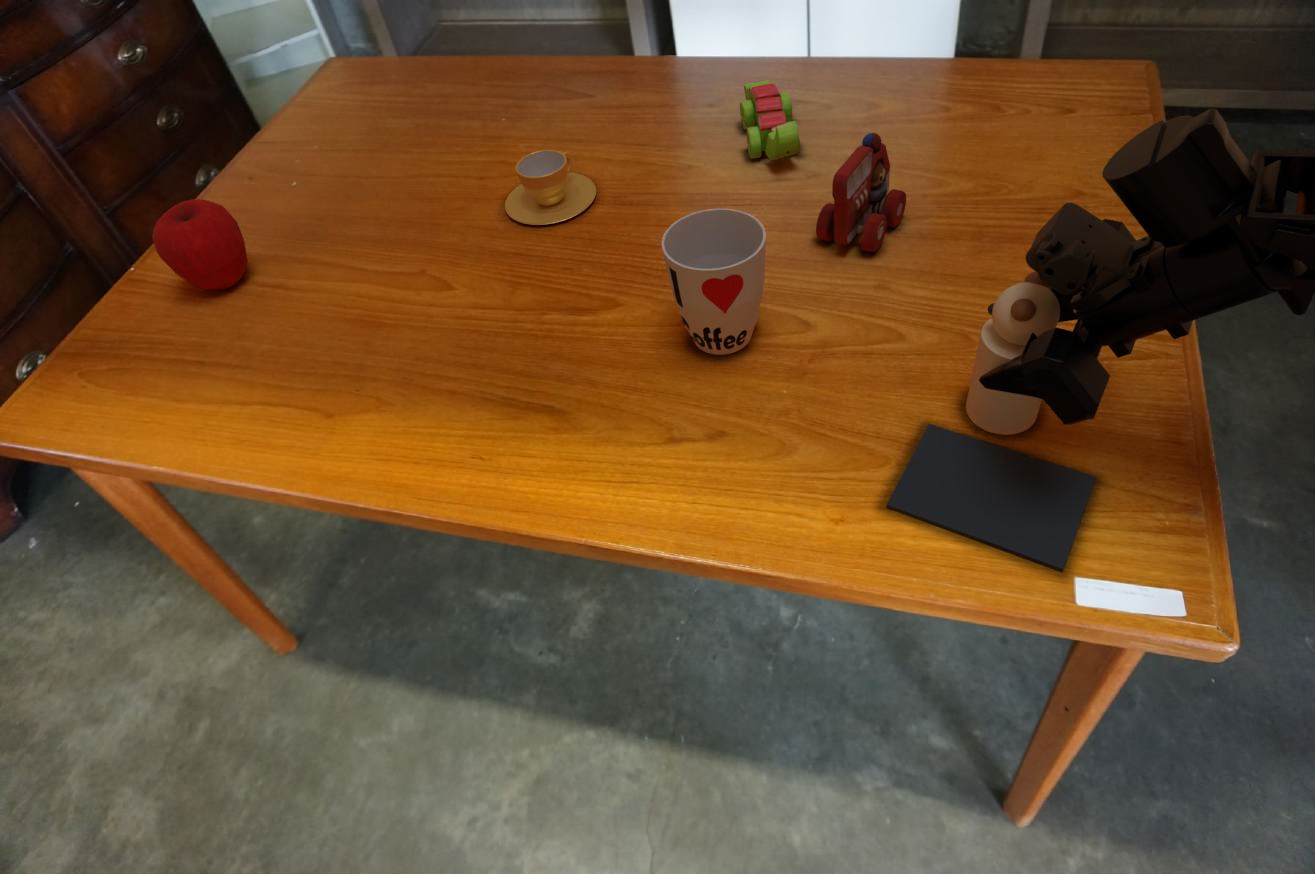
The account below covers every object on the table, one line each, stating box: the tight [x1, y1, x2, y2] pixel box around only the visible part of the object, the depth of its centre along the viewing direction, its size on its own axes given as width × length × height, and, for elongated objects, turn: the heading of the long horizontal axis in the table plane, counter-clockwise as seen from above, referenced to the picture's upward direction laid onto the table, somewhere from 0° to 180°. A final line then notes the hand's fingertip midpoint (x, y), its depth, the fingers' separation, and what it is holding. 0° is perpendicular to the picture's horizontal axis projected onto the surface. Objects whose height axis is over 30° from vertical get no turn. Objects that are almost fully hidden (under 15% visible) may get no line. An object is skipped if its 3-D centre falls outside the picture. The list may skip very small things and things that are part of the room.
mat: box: [886, 423, 1097, 573], centre depth 69 cm, size 14×10×1 cm
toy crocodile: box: [739, 79, 801, 161], centre depth 109 cm, size 20×7×6 cm, turn 3°
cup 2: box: [661, 208, 767, 356], centre depth 82 cm, size 10×10×12 cm
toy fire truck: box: [815, 132, 907, 253], centre depth 91 cm, size 7×12×10 cm, turn 146°
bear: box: [965, 271, 1060, 436], centre depth 70 cm, size 6×6×14 cm
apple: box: [151, 198, 248, 290], centre depth 102 cm, size 10×10×11 cm
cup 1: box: [504, 149, 597, 226], centre depth 106 cm, size 12×12×5 cm
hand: (997, 351), depth 71 cm, fingers open, 8 cm apart
